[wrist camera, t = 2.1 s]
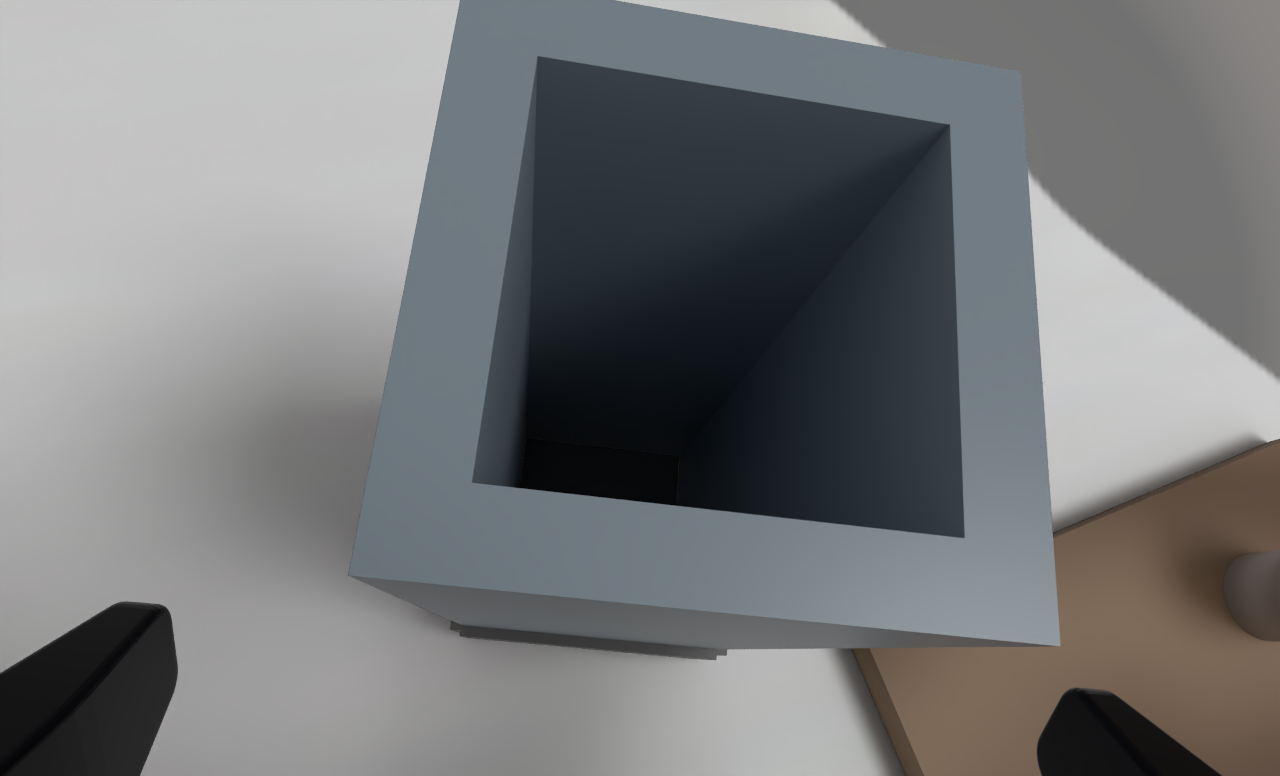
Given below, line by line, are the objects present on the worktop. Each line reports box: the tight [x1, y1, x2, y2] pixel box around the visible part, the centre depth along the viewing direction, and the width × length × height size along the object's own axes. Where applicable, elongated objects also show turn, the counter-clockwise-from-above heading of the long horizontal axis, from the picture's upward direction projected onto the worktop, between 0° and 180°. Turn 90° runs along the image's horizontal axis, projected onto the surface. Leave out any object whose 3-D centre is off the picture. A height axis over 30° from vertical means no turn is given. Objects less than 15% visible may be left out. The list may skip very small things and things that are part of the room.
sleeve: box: [348, 0, 1061, 660], centre depth 13 cm, size 5×5×13 cm
